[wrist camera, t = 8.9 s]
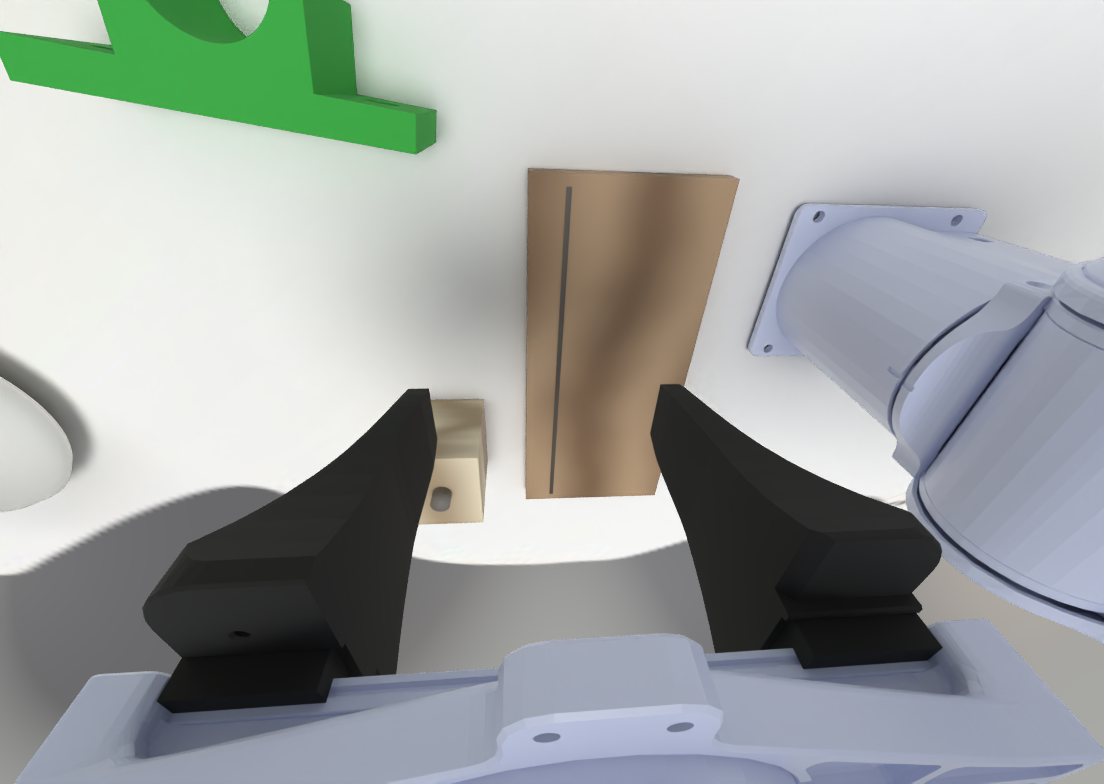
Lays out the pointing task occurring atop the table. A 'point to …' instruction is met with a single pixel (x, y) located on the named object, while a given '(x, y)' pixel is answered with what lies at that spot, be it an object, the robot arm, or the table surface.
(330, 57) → the pipe clamp
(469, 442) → the beige boxy piece
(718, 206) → the board
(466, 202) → the table surface
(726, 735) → the robot arm
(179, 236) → the table surface
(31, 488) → the flower in vase
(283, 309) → the table surface
